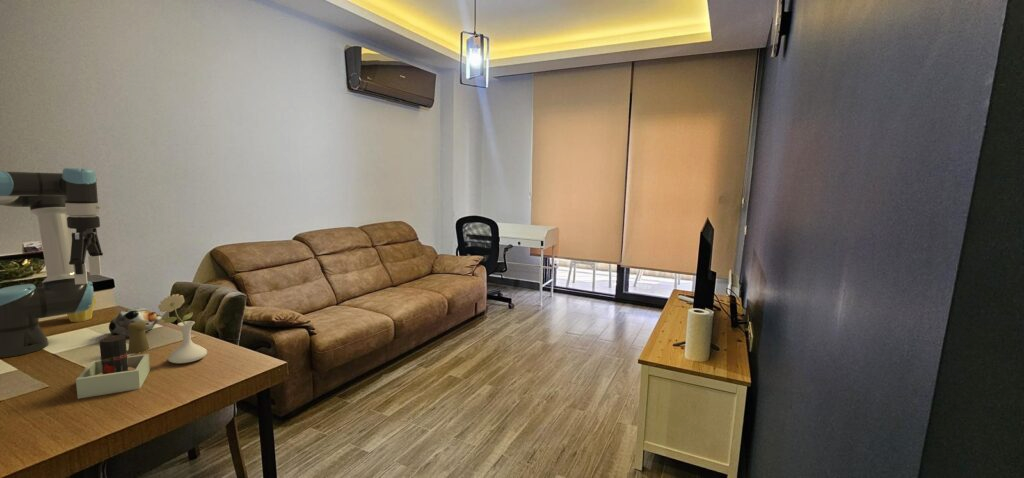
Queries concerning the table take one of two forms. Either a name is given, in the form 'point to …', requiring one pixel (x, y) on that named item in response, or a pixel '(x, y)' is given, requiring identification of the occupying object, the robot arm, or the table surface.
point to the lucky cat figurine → (133, 320)
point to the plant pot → (82, 314)
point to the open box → (112, 378)
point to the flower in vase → (187, 348)
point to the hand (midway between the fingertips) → (88, 279)
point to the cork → (137, 337)
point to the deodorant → (113, 354)
